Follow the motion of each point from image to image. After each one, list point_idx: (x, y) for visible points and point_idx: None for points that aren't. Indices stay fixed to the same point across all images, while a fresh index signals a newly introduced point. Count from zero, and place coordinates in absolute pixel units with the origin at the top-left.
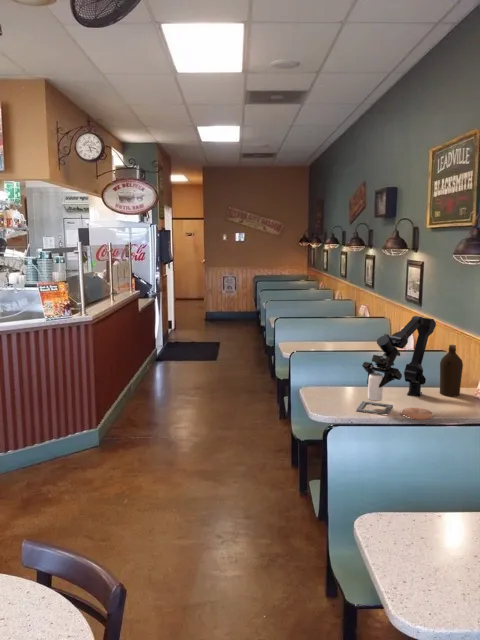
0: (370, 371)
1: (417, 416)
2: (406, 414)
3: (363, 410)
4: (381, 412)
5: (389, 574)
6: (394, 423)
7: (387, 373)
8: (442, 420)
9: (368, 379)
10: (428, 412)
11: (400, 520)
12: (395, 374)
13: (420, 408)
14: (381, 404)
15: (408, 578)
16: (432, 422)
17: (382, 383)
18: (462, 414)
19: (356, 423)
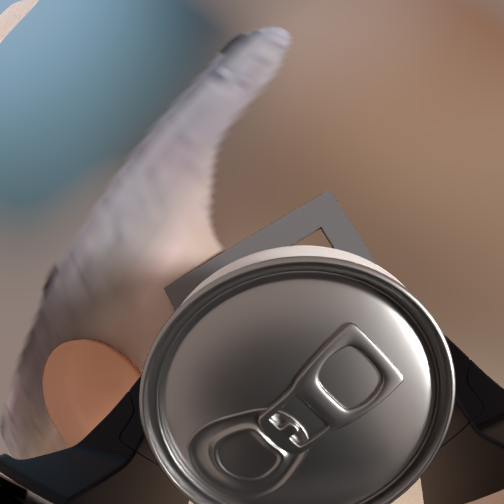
0: (497, 435)
1: (58, 357)
2: (92, 345)
3: (295, 219)
4: (201, 282)
5: (16, 6)
6: (88, 224)
7: (28, 462)
8: (30, 406)
9: None
10: (72, 438)
11: (11, 26)
12: (16, 499)
13: None
14: None
15: (7, 14)
16: (29, 361)
17: None
18: None
19: (196, 85)
